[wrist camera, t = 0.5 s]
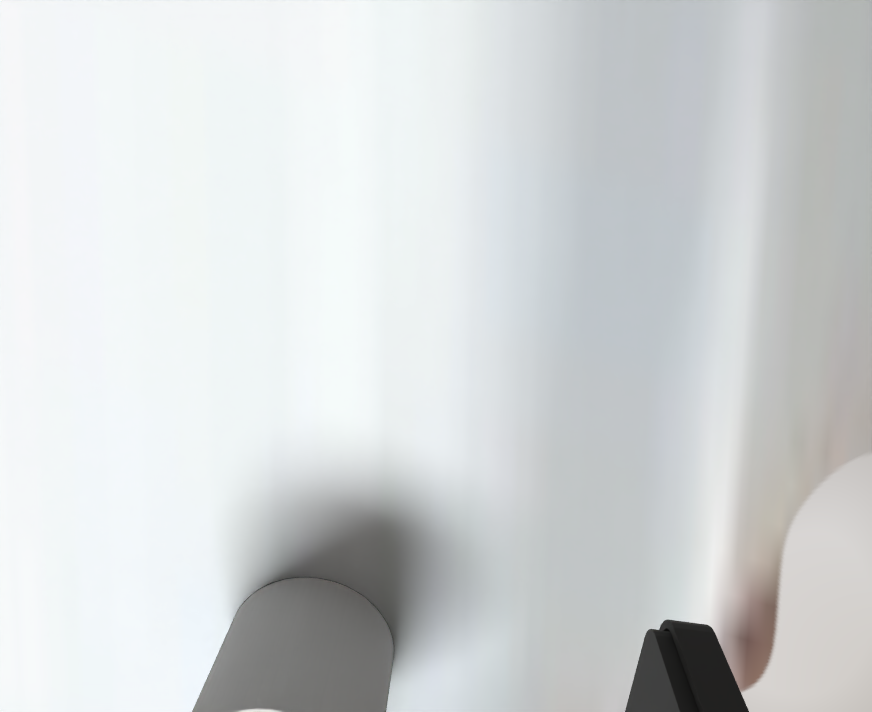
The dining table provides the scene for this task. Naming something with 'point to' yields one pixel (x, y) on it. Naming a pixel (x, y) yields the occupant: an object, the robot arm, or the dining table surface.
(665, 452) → the dining table surface
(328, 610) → the coffee mug
